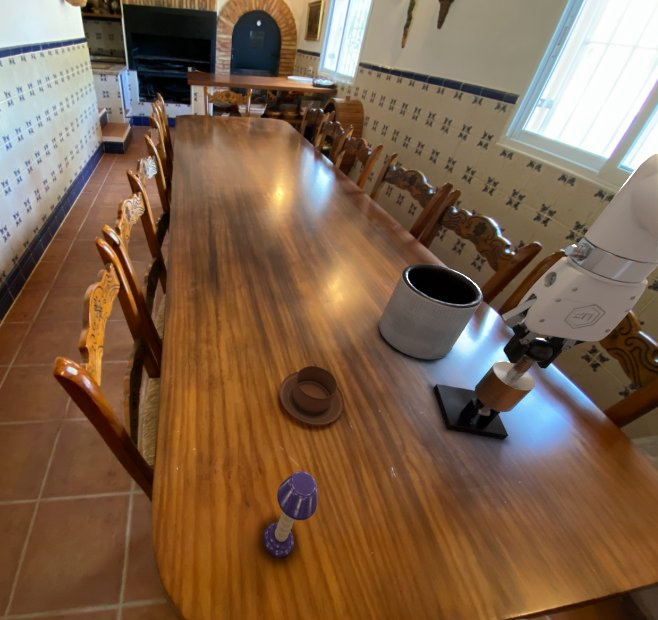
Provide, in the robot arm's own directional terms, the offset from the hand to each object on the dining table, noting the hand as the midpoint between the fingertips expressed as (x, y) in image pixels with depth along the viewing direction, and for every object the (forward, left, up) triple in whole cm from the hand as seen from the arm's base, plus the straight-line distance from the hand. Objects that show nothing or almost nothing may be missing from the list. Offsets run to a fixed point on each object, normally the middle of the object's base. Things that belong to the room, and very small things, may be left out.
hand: (523, 358), depth 56 cm
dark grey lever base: (+2, 0, -17) cm, 17 cm away
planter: (+21, +6, -17) cm, 28 cm away
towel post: (0, 0, -14) cm, 14 cm away
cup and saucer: (-3, +30, -17) cm, 35 cm away
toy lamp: (-27, +34, -17) cm, 47 cm away
